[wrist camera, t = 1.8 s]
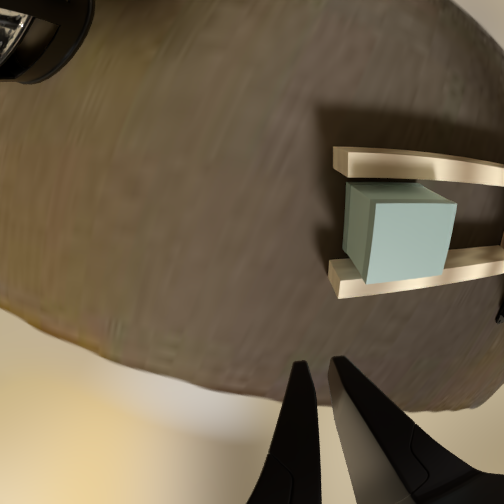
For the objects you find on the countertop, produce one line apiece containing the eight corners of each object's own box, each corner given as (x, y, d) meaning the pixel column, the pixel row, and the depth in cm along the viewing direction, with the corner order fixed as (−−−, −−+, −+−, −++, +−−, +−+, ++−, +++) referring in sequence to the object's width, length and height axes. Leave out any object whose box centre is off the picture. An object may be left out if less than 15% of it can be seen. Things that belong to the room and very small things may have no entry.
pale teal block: (417, 182, 19) (457, 203, 14) (409, 243, 21) (441, 274, 16) (345, 181, 19) (376, 203, 14) (341, 247, 21) (365, 284, 16)
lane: (512, 166, 18) (533, 174, 15) (494, 257, 22) (511, 271, 19) (332, 146, 18) (348, 152, 15) (327, 276, 22) (338, 298, 19)
